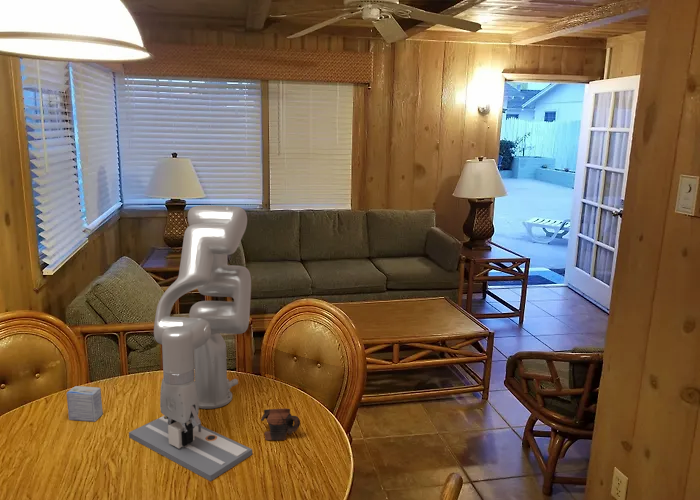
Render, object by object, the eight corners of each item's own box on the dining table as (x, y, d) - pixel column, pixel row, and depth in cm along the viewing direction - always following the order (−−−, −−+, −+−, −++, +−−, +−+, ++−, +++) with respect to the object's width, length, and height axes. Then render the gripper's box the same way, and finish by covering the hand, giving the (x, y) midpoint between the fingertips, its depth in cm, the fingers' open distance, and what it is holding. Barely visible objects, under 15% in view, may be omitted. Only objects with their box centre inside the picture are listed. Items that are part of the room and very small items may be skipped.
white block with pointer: (195, 429, 151) (195, 412, 150) (205, 433, 149) (205, 416, 148) (168, 443, 144) (167, 425, 143) (178, 448, 142) (178, 430, 141)
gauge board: (172, 416, 161) (171, 398, 160) (252, 454, 143) (252, 434, 142) (129, 437, 150) (127, 417, 148) (210, 481, 132) (209, 459, 131)
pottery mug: (254, 441, 150) (254, 409, 153) (271, 440, 159) (271, 410, 161) (293, 439, 146) (293, 407, 149) (309, 438, 154) (308, 408, 157)
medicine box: (103, 414, 161) (101, 387, 159) (94, 422, 157) (92, 394, 155) (77, 412, 162) (75, 385, 160) (68, 420, 157) (65, 392, 156)
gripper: (145, 371, 142) (149, 436, 146) (188, 389, 133) (191, 458, 137) (170, 362, 148) (172, 424, 152) (212, 379, 139) (214, 445, 143)
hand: (181, 439), depth 145 cm, fingers closed on white block with pointer, 4 cm apart
